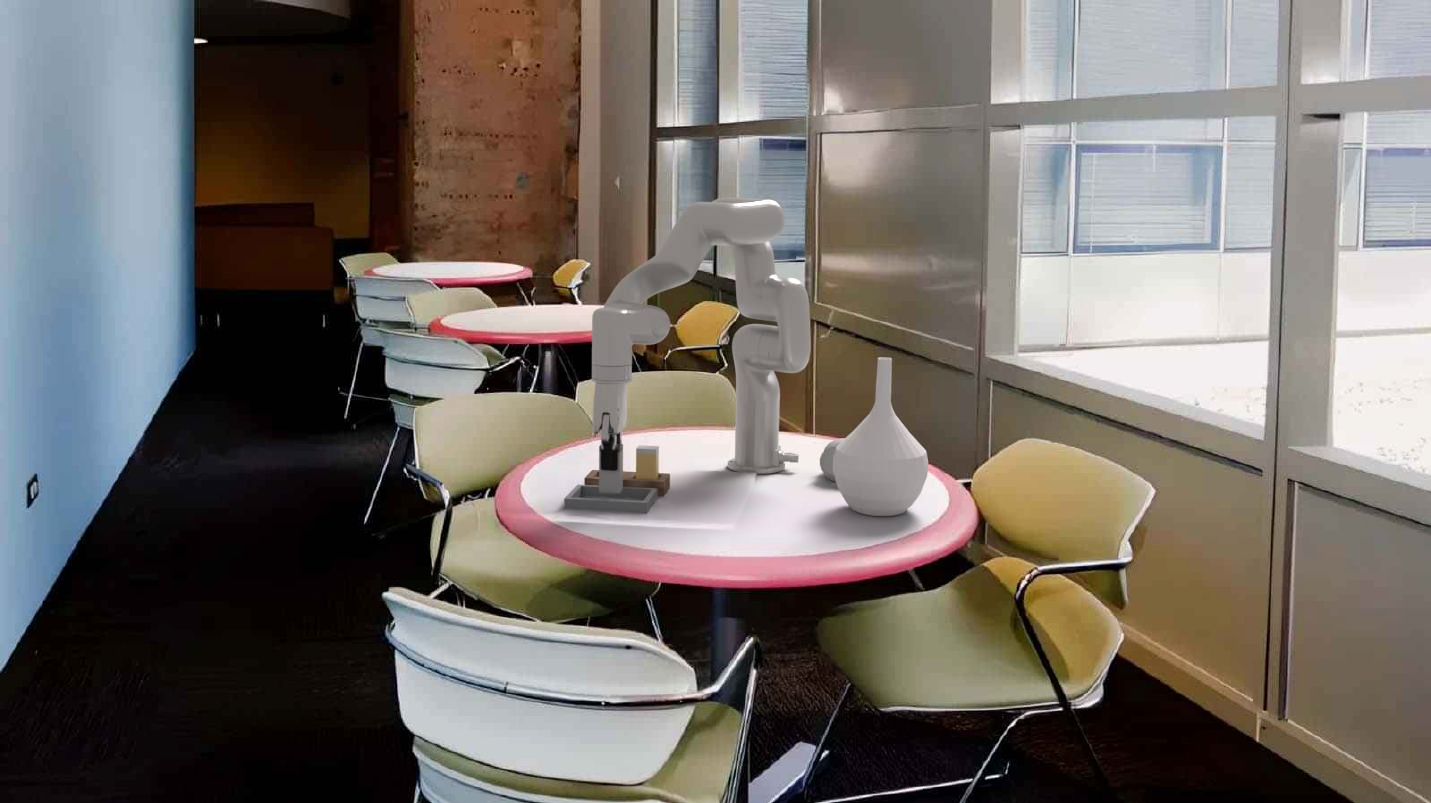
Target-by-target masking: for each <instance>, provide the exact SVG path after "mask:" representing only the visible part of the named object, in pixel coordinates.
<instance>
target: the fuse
mask: <svg viewBox="0 0 1431 803" xmlns="http://www.w3.org/2000/svg"><path fill="white" fill-rule="evenodd" d="M659 448H660V447H659V445H658V446H657V445H643V444H642V445H640V444H639V445H638V446H637V447H636V449H635V472H636V479H650V480H658V473H660V472H659V471H660V470H659V465H660V464H659V463H660V462H659V461H660V460H659V458H660V455H659V452H660V449H659Z"/></svg>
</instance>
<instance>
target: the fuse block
mask: <svg viewBox="0 0 1431 803" xmlns="http://www.w3.org/2000/svg"><path fill="white" fill-rule="evenodd" d="M670 484H671V473H663V472H659V473H658V480H650V479H636V471H626V470H625V471H624V470H623V487H638V488H658V498H659V497H660V498H665V496H666V495H667V493H668V492H669V490H670V488H671V485H670ZM583 485H598V486H599V469H592V470H590V471H589V473H588V474H587V475H586V476H585V477H584V483H583Z"/></svg>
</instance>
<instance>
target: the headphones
mask: <svg viewBox="0 0 1431 803" xmlns="http://www.w3.org/2000/svg"><path fill="white" fill-rule="evenodd" d="M845 438H846V437H845ZM845 438H843V437H842V438H837V439H834V440H832V441H830V442H829V443H828V444H827V445H826V446H825V447H824V450H823V451H822V453H821V455H820V458H819V465H820V466H819V467H820V469H821V471H822V473H823V475H825V477H826V478H827V479H828V480H830V481H832V482H834V483H836V479H835V476H834V473H833V458H834V454H835V451H836V447H837V446H838V445H839V444H840V443H841V442H842V441H843V440H844V439H845Z"/></svg>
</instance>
